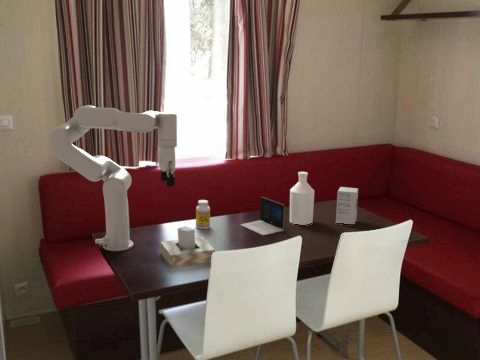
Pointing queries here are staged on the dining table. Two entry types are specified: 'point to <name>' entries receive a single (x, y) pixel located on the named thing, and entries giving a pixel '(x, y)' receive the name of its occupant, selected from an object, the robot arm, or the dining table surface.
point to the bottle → (301, 201)
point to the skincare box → (186, 238)
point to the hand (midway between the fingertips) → (167, 183)
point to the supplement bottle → (203, 215)
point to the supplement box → (347, 205)
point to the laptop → (268, 218)
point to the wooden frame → (186, 253)
